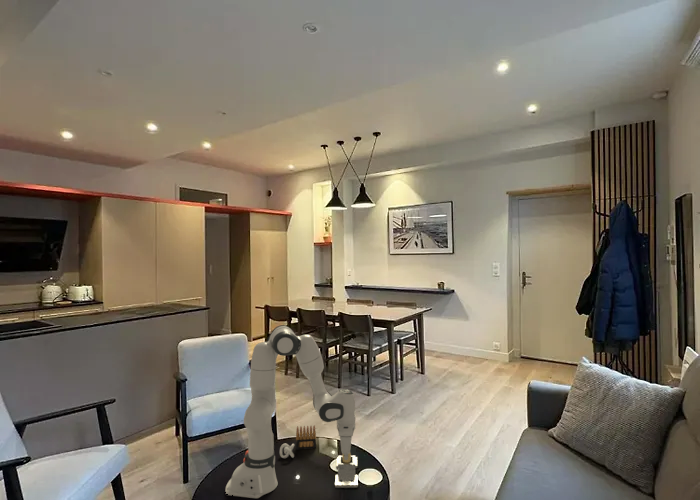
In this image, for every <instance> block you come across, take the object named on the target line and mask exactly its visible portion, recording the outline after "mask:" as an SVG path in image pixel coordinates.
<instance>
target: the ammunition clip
mask: <svg viewBox="0 0 700 500" xmlns="http://www.w3.org/2000/svg"><path fill="white" fill-rule="evenodd" d="M316 433H317V432H316V425H313V427H312V425H310V427H309V426H308V425H307V426H305V425H304V426H303V427H302V426H300V427H299V426H297V427H296V433H295V434H296V435H295V441H296V442H295V450H310V449H311V450H312V449H313V448H314V449H317V434H316Z"/></svg>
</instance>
